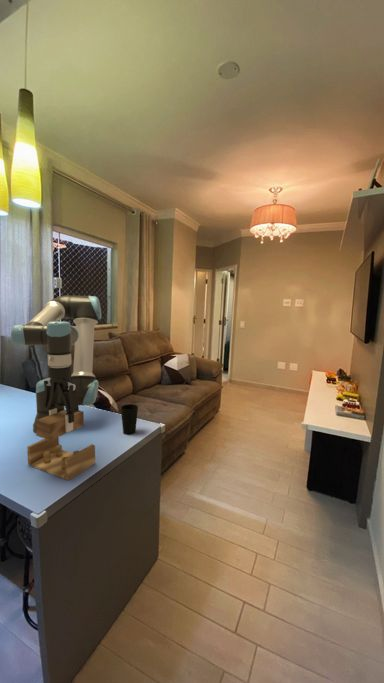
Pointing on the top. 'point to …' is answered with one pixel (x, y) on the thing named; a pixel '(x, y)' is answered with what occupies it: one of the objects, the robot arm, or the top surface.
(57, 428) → the brown wooden block
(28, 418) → the top surface
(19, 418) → the top surface
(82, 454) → the stand
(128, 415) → the cup
